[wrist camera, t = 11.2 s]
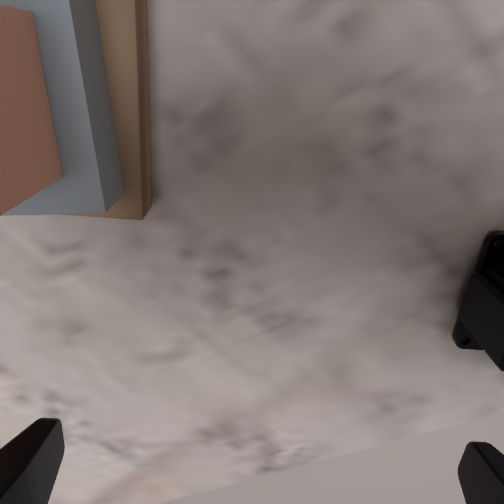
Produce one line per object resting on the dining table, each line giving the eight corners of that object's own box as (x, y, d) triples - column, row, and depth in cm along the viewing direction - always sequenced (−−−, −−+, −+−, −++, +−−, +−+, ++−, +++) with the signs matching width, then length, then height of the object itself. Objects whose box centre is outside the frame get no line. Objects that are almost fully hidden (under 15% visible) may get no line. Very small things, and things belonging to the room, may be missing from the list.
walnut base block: (149, -50, 16) (132, -68, 14) (154, 201, 20) (142, 219, 18) (-121, -74, 16) (-183, -96, 14) (-59, 186, 20) (-99, 203, 18)
